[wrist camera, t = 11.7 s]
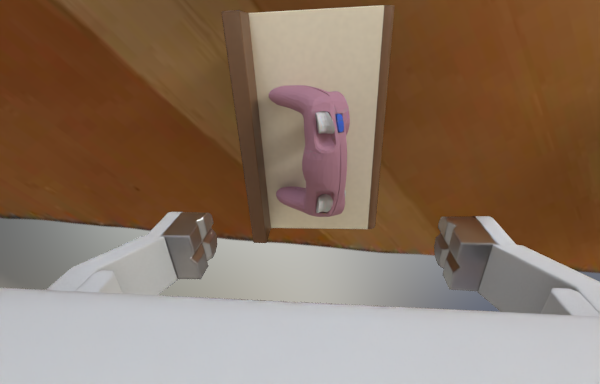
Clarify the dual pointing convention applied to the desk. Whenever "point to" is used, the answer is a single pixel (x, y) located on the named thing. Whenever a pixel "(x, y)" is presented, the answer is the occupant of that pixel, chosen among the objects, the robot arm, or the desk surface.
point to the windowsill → (289, 123)
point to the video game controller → (318, 149)
